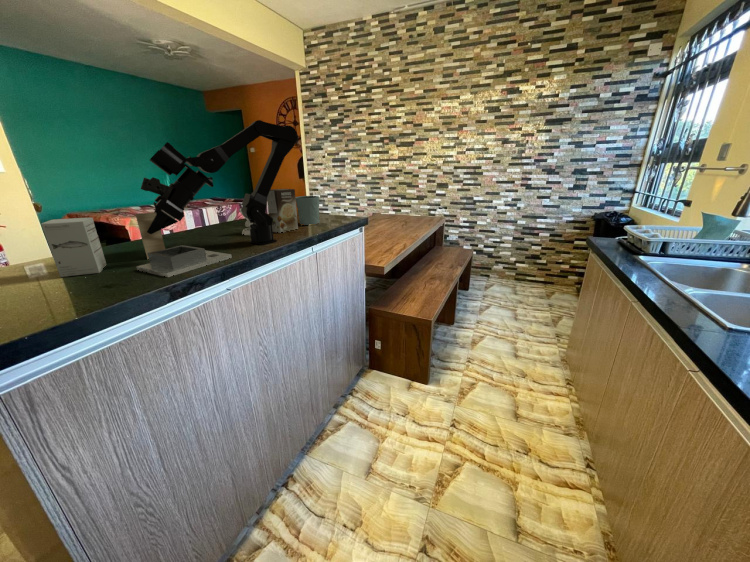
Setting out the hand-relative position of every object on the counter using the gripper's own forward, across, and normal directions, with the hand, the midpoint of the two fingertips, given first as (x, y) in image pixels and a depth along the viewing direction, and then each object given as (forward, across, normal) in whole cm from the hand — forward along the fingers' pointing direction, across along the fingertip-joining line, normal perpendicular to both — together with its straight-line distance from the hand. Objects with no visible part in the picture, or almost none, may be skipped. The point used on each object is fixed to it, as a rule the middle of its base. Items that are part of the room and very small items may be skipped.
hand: (148, 230), depth 85 cm
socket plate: (0, +13, +10) cm, 17 cm away
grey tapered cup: (-36, -24, +46) cm, 63 cm away
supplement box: (+16, +6, -5) cm, 17 cm away
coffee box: (-26, -16, +36) cm, 47 cm away
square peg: (+5, 0, +6) cm, 8 cm away
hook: (-17, -19, +28) cm, 38 cm away
